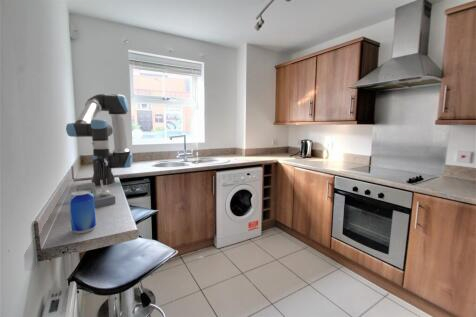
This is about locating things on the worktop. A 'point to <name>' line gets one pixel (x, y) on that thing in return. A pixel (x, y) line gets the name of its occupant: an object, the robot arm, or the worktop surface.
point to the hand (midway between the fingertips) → (104, 190)
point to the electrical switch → (87, 187)
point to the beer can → (82, 211)
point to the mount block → (103, 200)
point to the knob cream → (104, 193)
